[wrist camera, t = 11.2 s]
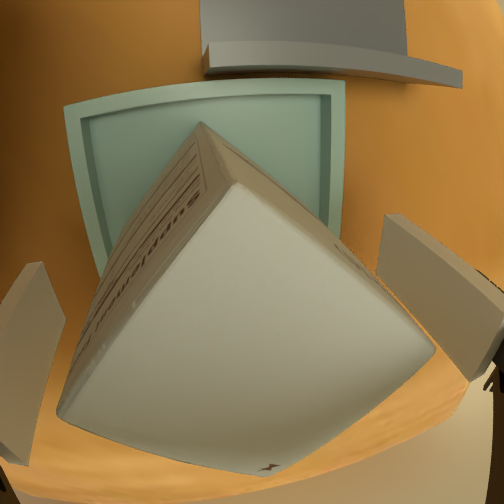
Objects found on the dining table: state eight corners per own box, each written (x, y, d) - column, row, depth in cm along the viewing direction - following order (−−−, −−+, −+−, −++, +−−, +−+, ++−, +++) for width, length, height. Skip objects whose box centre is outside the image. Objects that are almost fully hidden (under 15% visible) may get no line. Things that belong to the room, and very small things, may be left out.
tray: (124, 317, 20) (120, 336, 19) (76, 104, 14) (63, 106, 12) (321, 289, 22) (332, 305, 21) (328, 80, 16) (345, 80, 14)
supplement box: (302, 199, 18) (446, 353, 7) (220, 289, 20) (265, 484, 9) (200, 114, 15) (242, 168, 4) (118, 224, 17) (50, 426, 6)
